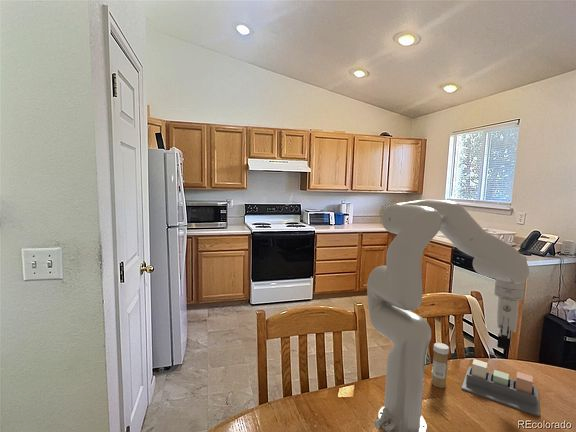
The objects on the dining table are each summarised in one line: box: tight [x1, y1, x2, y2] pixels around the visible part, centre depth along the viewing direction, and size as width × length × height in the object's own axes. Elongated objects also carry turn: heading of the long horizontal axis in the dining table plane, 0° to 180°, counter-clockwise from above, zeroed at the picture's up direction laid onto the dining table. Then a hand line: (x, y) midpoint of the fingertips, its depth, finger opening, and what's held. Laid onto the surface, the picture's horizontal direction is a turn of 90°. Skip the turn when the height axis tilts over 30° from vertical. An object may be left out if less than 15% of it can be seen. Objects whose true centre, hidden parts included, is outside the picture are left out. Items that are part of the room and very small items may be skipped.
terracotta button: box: [515, 371, 534, 394], centre depth 100 cm, size 4×4×4 cm
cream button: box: [471, 358, 488, 380], centre depth 107 cm, size 4×4×4 cm
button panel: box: [461, 365, 541, 418], centre depth 103 cm, size 14×20×4 cm
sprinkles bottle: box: [431, 342, 450, 389], centre depth 106 cm, size 5×5×14 cm
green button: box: [493, 369, 510, 387], centre depth 103 cm, size 4×4×4 cm
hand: (503, 347), depth 102 cm, fingers closed
